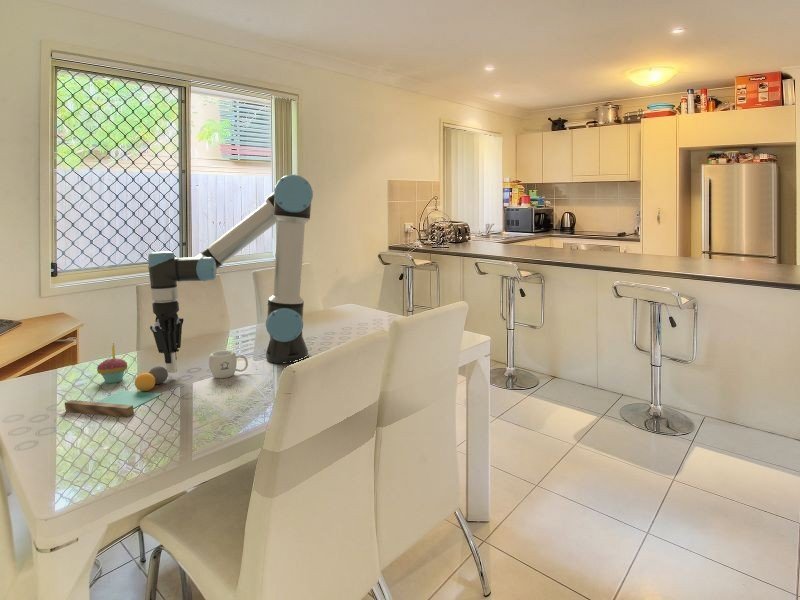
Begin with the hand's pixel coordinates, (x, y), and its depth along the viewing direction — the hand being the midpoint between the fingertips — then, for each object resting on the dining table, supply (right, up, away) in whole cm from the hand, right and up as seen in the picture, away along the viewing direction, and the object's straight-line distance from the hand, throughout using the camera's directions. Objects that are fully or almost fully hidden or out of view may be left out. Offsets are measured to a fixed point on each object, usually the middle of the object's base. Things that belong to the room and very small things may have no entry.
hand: (171, 371), depth 157 cm
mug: (+18, -2, +2) cm, 18 cm away
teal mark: (-4, -5, -19) cm, 21 cm away
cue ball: (-2, 0, -5) cm, 6 cm away
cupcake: (-18, -3, -2) cm, 18 cm away
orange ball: (-3, -1, -12) cm, 12 cm away
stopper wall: (-6, -7, -28) cm, 29 cm away
